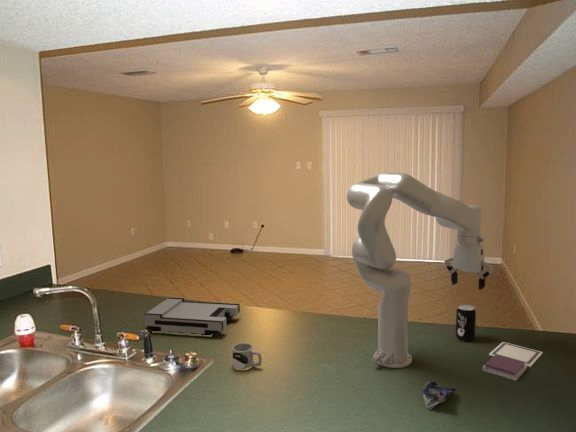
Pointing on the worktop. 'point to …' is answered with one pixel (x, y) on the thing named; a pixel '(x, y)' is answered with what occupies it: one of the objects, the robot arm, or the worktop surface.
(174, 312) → the game console
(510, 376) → the ink pad
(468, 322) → the beverage can
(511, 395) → the worktop surface
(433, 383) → the snack package
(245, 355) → the mug
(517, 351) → the marked card
